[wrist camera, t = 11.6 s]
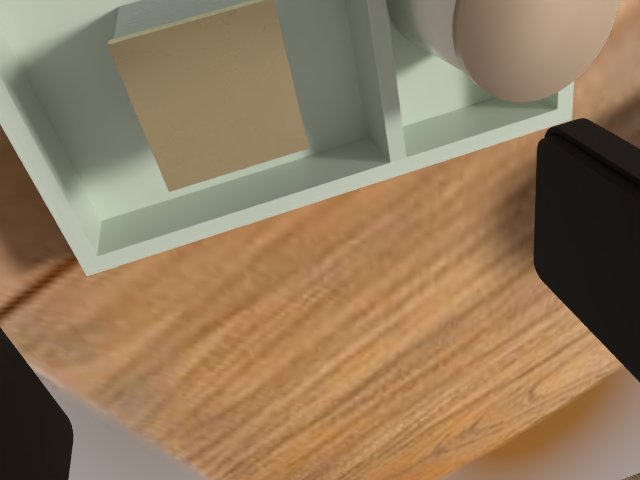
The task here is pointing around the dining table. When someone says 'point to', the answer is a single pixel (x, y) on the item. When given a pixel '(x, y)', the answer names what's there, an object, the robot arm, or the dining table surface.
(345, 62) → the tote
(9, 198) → the dining table surface
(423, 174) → the dining table surface
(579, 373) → the dining table surface
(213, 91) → the tin
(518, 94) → the canister
